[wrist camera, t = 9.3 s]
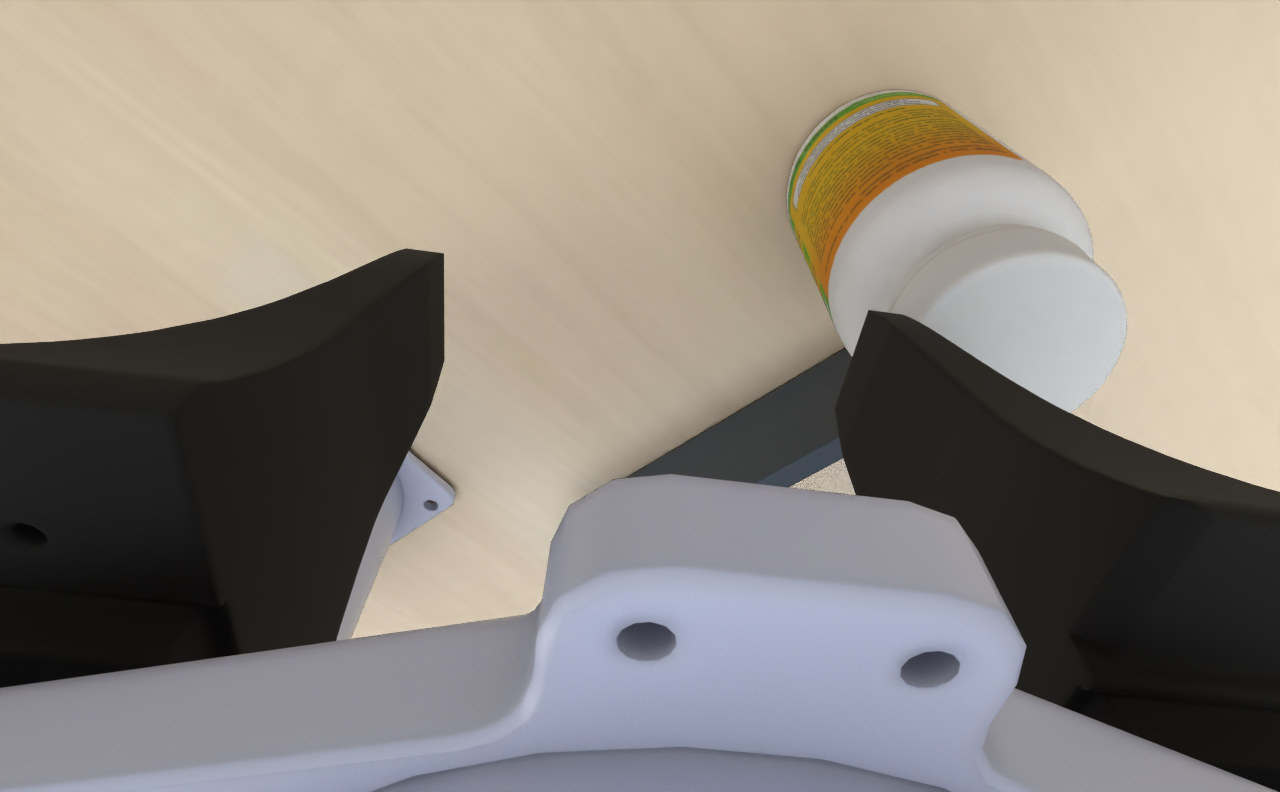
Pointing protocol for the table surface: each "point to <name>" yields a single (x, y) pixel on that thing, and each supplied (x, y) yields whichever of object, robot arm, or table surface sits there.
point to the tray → (769, 434)
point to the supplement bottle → (954, 243)
